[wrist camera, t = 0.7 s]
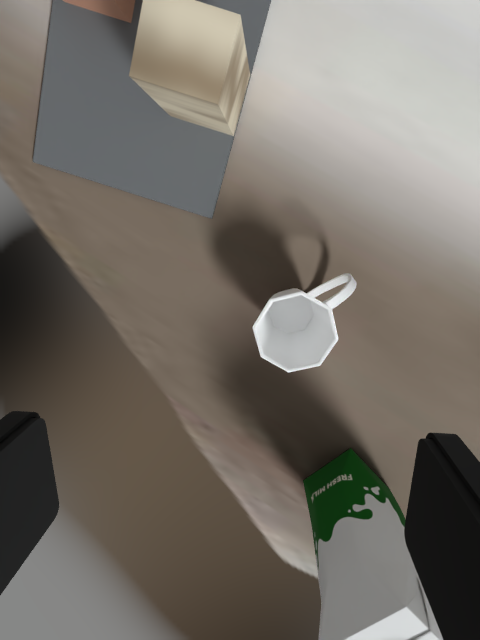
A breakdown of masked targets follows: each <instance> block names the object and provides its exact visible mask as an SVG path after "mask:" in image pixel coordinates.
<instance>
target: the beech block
mask: <svg viewBox="0 0 480 640" xmlns="http://www.w3.org/2000/svg"><path fill="white" fill-rule="evenodd" d="M129 76H130V77H131V78H132V79H133V80H134V81H135V82H136V83H137V84H138V85H139V86H140V87H141V88H142V89H143V90H144V91H145V92H146V93H147V94H148V95H149V96H150V97H151V98H152V99H153V100H154V101H155V102H156V103H157V104H158V105H159V106H160V107H162V108H163V109H164V110H165V111H166V112H167V113H168V114H169V115H170V116H172V117H175V118H178V119H181V120H184V121H187V122H191V123H194V124H197V125H200V126H203V127H206V128H209V129H213V130H216V131H219V132H222V133H225V134H228V135H231V136H234V133H235V130H236V126H237V122H238V119H239V115H240V111H241V107H242V104H243V100H244V96H245V93H246V89H247V85H248V82H249V78H250V70H249V64H248V58H247V52H246V45H245V39H244V33H243V27H242V20H241V15H240V14H237V13H234V12H230V11H227V10H224V9H221V8H218V7H215V6H212V5H208V4H205V3H202V2H199V1H196V0H143V3H142V8H141V13H140V19H139V24H138V30H137V35H136V40H135V46H134V51H133V57H132V62H131V67H130V73H129Z"/></svg>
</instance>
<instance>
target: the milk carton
mask: <svg viewBox="0 0 480 640" xmlns="http://www.w3.org/2000/svg"><path fill="white" fill-rule="evenodd" d="M303 482H304V487H305V492H306V498H307V503H308V508H309V513H310V518H311V523H312V530H313V538H314V546H315V554H316V561H317V569H318V577H319V585H320V593H321V602H322V606H321V618H320V630H319V640H443V637H442V635H441V632H440V630H439V627H438V625H437V622H436V620H435V617H434V614H433V612H432V609H431V607H430V604H429V602H428V599H427V597H426V594H425V592H424V589H423V587H422V584H421V581H420V579H419V576H418V574H417V571H416V569H415V566H414V564H413V561H412V559H411V556H410V554H409V551H408V548H407V546H406V542H405V536H404V527H405V521H406V520H405V518H404V515H403V513H402V511H401V509H400V507H399V505H398V503H397V501H396V500H395V498H394V496H393V494H392V493H391V491H390V489H389V488H388V487H387V486H386V485H385V484H384V483H383V482H382V481H381V480H380V478H379V477H378V476H377V475H376V474H375V473H374V472H373V471H372V470H371V469H370V468H369V467H368V466H367V465H366V464H365V463H364V462H363V460H362V459H361V458H360V457H359V456H358V455H357V454H356V453H355V452H354V451H353V450H352V449H351V448H350V449H349V450H347V451H346V452H344V453H343V454H341V455H340V456H338V457H337V458H335V459H334V460H333V461H331V462H330V463H328V464H327V465H325V466H324V467H322V468H321V469H319V470H318V471H317V472H315V473H314V474H312V475H311V476H309V477H308V478H306V479H305V480H303Z"/></svg>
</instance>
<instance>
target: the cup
mask: <svg viewBox="0 0 480 640" xmlns="http://www.w3.org/2000/svg"><path fill="white" fill-rule="evenodd" d="M346 282H347V284H346V285H345V286H344V288H343V289H342V290H341V291H339V292H338V293H337V294H335V295H333V296H332V297H330V298H329V299H327V300H325V301H324V302H320V301H319V300H317V299H315V297H316V296H318V295H320V294H322V293H323V292H325V291H328V290H330V289H332V288H334V287H336V286H338V285H341V284H343V283H346ZM355 288H356V281H355V280H354V278H353V277H352V275H351V274H350V273H345V274H342V275H340V276H337V277H335V278H333V279H331V280H329V281H327V282H325V283H323V284H321V285H319V286H317V287H316V288H314V289H312V290H311V291H309V292H308V293H305V292H303V291H301V290H299V289H298V288H296V289H295V288H292V289H288V290H284V291H280V292H278V293H276V294H274V295H273V296H272V297H271V298H270V299H269V301H268V302H267V304H266V306H265V307H264V309H263V310H262V312H261V314H260V315H259V317H258V319H257V320H256V322H255V324H254V325H253V327H252V328H253V331H254V335H255V338H256V342H257V345H258V349H259V353H260V356H261V357H262V358H263V359H265V360H267V361H269V362H271V363H272V364H274V365H276V366H278V367H279V368H281V369H283V370H285V371H287V372H288V373H289V372H293V371H298V370H302V369H307V368H311V367H316V366H320V365H321V364H322V362H323V361H324V359H325V358H326V356H327V355H328V354H329V352H330V351H331V349H332V348H333V346H334V345H335V344H336V342H337V341H338V335H337V330H336V326H335V321H334V317H333V312H332V309H333V308H335V307H336V306H338V305H339V304H340V303H342V302H343V301H344V300H346V299H347V298H348V297H349V296H350V295H351V294H352V293H353V291H354V290H355Z"/></svg>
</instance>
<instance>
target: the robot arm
mask: <svg viewBox="0 0 480 640" xmlns="http://www.w3.org/2000/svg"><path fill="white" fill-rule="evenodd" d="M58 508H59V501H58V494H57V488H56V482H55V476H54V470H53V465H52V458H51V452H50V446H49V440H48V435H47V428H46V424H45V421H44V420H43V419H42V418H40V416H39V415H38V413H36V412H21V411H13V412H11V413H9V414H7V415H6V416H5V417H3V418H2V419H1V420H0V595H1V593H2V592H3V591H4V589H5V588H6V586H7V585H8V584H9V582H10V581H11V579H12V578H13V577H14V575H15V574H16V572H17V571H18V570H19V568H20V567H21V565H22V564H23V563H24V561H25V560H26V558H27V557H28V556H29V554H30V553H31V551H32V550H33V549H34V547H35V546H36V544H37V543H38V542H39V540H40V539H41V537H42V536H43V535H44V533H45V532H46V530H47V529H48V528H49V526H50V525H51V523H52V522H53V521H54V519H55V517H56V515H57V513H58ZM404 536H405V542H406V546H407V548H408V551H409V554H410V556H411V559H412V561H413V564H414V566H415V569H416V571H417V574H418V576H419V579H420V581H421V584H422V587H423V589H424V592H425V594H426V597H427V599H428V602H429V604H430V607H431V609H432V612H433V614H434V617H435V620H436V622H437V625H438V627H439V630H440V632H441V635H442V637H443V640H480V462H479V461H478V460H477V458H476V457H475V456H474V455H473V454H472V452H471V451H470V450H469V449H468V447H467V446H466V445H465V444H464V442H463V441H462V440H461V439H460V438H459V437H458V436H457V435H456V434H445V433H429V434H428V435H427V436H426V439H420V440H419V442H418V447H417V453H416V459H415V466H414V472H413V478H412V484H411V490H410V496H409V503H408V509H407V515H406V521H405V527H404Z"/></svg>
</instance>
